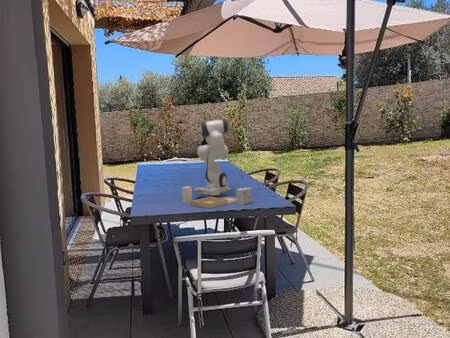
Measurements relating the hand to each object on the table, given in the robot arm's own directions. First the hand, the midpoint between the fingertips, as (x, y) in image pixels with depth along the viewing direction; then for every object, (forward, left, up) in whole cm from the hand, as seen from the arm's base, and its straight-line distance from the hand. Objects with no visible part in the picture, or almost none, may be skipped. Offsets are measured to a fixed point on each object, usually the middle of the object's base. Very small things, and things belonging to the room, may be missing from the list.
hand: (198, 192), depth 338 cm
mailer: (-3, +18, -6) cm, 19 cm away
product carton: (+12, 0, -6) cm, 13 cm away
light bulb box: (-12, +35, -6) cm, 37 cm away
